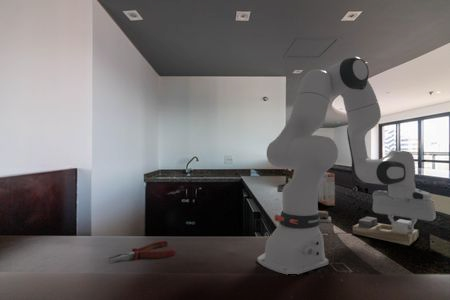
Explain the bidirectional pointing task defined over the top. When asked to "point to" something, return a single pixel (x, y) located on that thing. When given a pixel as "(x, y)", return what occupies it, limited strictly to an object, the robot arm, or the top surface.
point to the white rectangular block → (401, 226)
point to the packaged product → (324, 217)
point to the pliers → (146, 252)
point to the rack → (383, 231)
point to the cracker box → (327, 189)
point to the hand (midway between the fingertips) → (402, 228)
